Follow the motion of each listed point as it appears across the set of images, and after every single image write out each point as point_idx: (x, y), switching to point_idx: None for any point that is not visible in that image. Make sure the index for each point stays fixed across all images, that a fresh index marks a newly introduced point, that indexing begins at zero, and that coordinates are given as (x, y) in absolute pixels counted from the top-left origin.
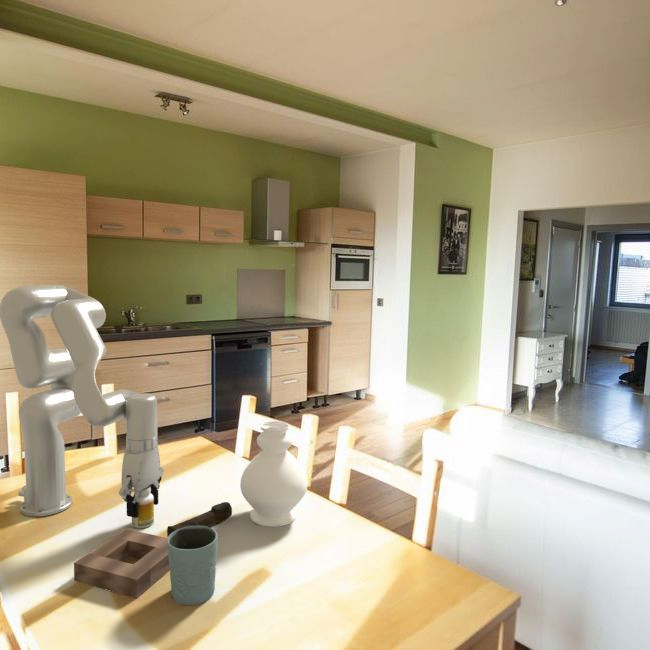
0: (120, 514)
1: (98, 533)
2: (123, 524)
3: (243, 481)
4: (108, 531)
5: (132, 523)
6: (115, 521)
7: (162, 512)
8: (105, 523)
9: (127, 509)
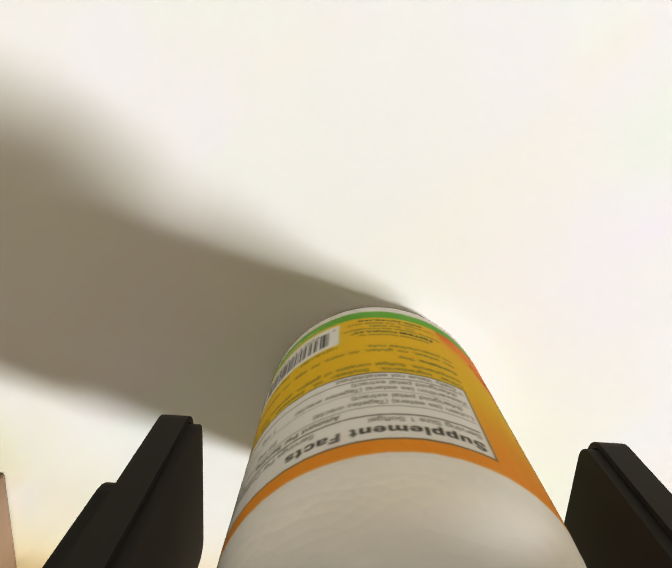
0: (497, 39)
1: (35, 104)
2: (297, 230)
3: None
4: (115, 179)
5: (286, 356)
6: (326, 101)
7: (641, 439)
8: (245, 18)
9: (72, 526)
